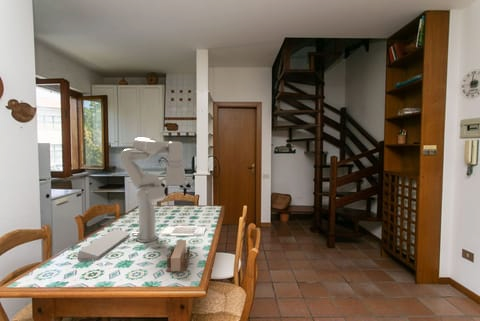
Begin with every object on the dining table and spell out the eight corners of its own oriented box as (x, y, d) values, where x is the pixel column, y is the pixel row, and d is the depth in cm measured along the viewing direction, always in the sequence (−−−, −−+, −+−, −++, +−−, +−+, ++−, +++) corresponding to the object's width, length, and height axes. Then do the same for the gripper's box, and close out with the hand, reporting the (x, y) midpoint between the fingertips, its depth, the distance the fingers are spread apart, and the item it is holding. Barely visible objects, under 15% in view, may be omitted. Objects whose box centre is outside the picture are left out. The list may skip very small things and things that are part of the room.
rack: (166, 271, 114) (166, 260, 114) (172, 254, 132) (172, 245, 132) (186, 270, 115) (186, 260, 115) (190, 254, 133) (190, 245, 133)
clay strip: (170, 271, 113) (170, 258, 112) (178, 251, 134) (178, 240, 134) (179, 271, 113) (179, 257, 113) (185, 251, 135) (185, 240, 135)
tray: (203, 236, 161) (203, 231, 161) (159, 238, 160) (159, 232, 160) (206, 227, 181) (206, 221, 181) (167, 228, 181) (167, 223, 181)
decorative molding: (128, 240, 161) (113, 235, 161) (130, 233, 160) (115, 228, 161) (95, 265, 127) (77, 259, 127) (98, 256, 126) (79, 250, 127)
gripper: (157, 164, 132) (157, 196, 133) (190, 164, 134) (190, 196, 135) (160, 163, 140) (160, 194, 141) (192, 163, 141) (192, 193, 142)
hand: (175, 195), depth 138 cm, fingers open, 9 cm apart
